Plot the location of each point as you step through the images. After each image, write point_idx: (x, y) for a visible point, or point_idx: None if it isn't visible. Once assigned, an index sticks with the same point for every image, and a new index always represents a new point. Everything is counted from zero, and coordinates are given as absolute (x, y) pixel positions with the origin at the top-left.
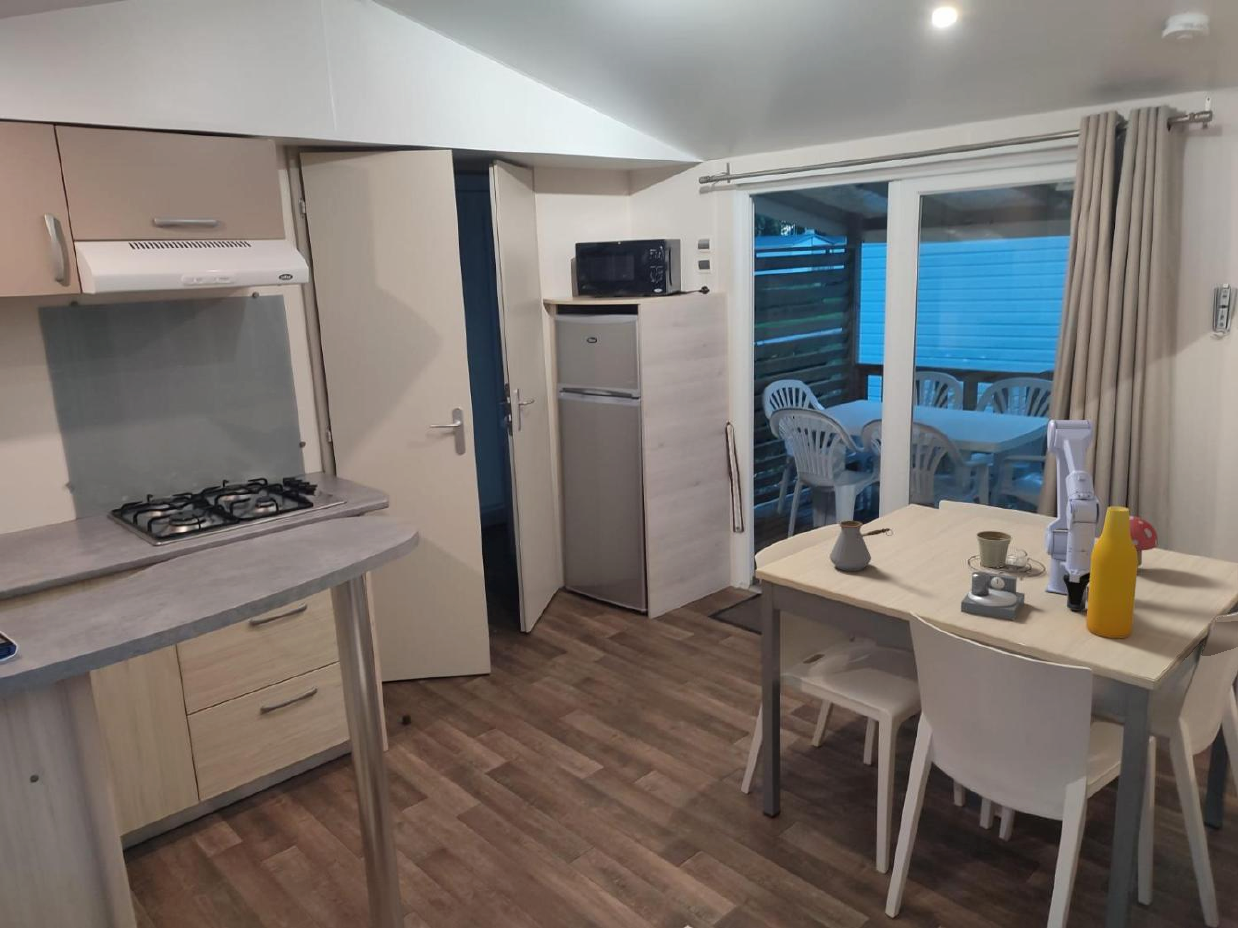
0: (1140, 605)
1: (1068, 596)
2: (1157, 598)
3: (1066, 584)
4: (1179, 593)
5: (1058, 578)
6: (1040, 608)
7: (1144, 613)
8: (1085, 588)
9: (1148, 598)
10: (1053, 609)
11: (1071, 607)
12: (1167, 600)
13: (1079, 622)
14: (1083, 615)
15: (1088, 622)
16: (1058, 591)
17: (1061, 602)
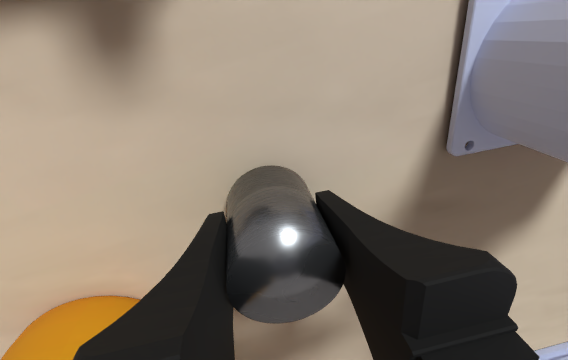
0: None
1: (242, 211)
2: None
3: (123, 320)
4: (553, 332)
5: (558, 52)
6: (154, 45)
7: (359, 341)
8: (299, 314)
9: None
10: (195, 115)
11: (227, 201)
12: None
13: (113, 259)
14: None
15: (7, 353)
16: (467, 56)
17: (329, 113)
